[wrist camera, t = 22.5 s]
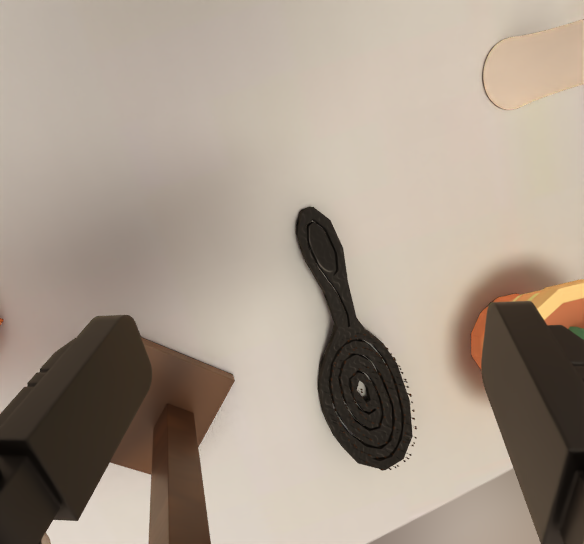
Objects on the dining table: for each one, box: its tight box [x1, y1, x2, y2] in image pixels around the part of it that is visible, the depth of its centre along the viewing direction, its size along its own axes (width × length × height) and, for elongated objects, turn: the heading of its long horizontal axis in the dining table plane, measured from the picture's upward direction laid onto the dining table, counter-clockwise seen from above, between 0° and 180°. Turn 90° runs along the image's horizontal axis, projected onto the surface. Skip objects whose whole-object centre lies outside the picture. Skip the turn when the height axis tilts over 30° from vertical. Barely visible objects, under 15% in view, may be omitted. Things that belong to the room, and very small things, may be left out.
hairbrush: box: [296, 207, 417, 471], centre depth 38 cm, size 8×4×25 cm
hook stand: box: [110, 337, 235, 544], centre depth 23 cm, size 14×10×25 cm
